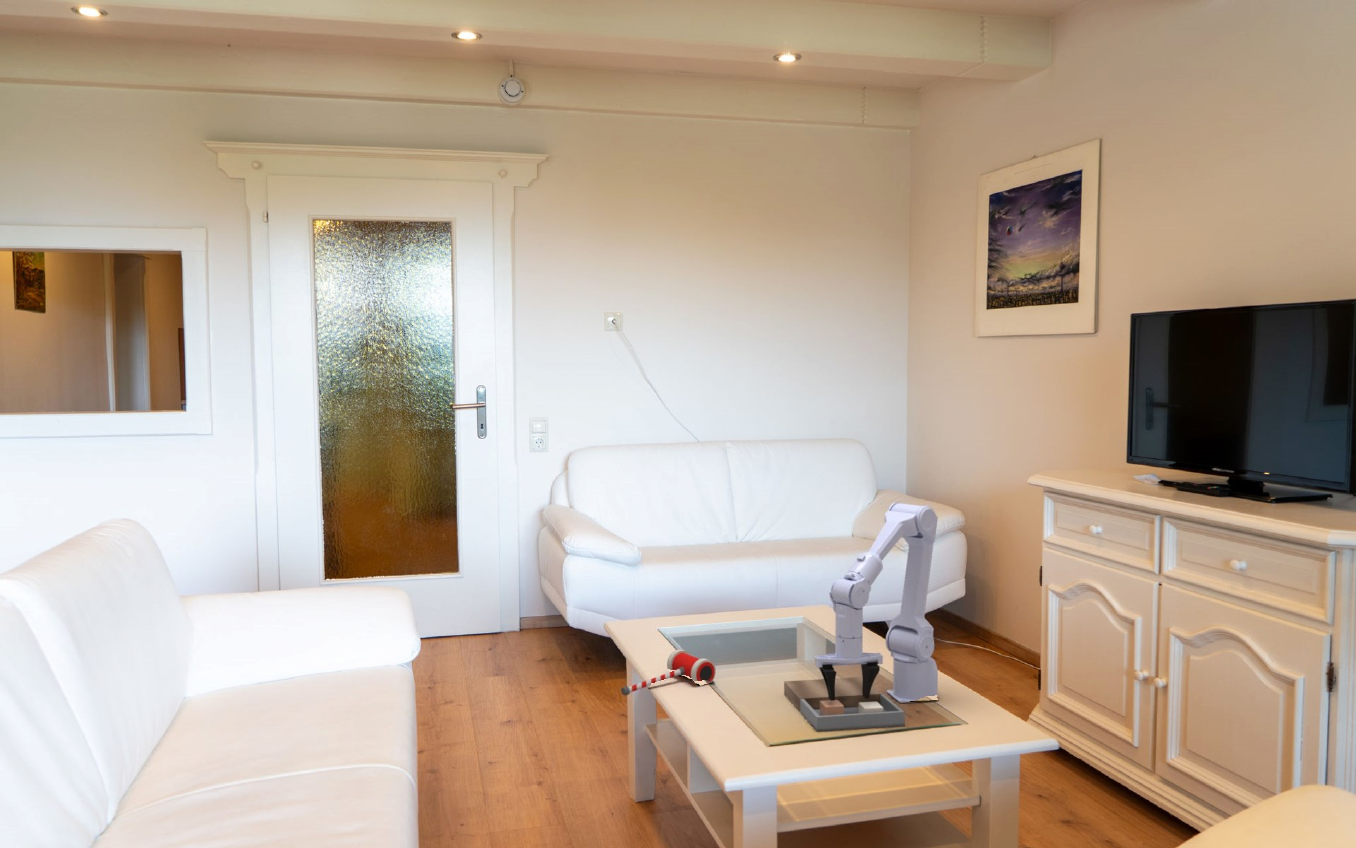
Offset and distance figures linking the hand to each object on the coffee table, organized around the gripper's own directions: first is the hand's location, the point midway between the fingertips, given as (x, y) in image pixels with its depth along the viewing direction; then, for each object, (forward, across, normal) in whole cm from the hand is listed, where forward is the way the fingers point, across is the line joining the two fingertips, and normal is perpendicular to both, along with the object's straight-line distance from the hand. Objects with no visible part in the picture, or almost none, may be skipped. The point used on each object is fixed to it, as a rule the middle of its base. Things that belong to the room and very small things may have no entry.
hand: (848, 698), depth 207 cm
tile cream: (+2, -4, +4) cm, 6 cm away
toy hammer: (+5, +34, -29) cm, 45 cm away
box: (+4, 0, +2) cm, 4 cm away
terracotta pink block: (+2, +4, +1) cm, 5 cm away
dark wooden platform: (+4, 0, -11) cm, 11 cm away
